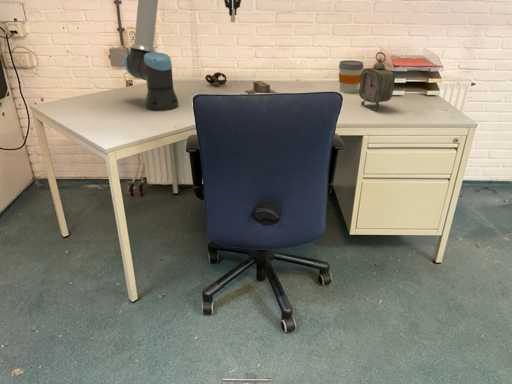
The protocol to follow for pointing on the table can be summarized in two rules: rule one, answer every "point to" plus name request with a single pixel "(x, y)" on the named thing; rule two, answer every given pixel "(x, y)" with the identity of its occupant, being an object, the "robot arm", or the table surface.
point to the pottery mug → (216, 79)
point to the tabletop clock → (376, 83)
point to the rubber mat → (257, 92)
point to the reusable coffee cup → (350, 75)
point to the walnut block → (261, 87)
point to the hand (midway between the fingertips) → (232, 22)
